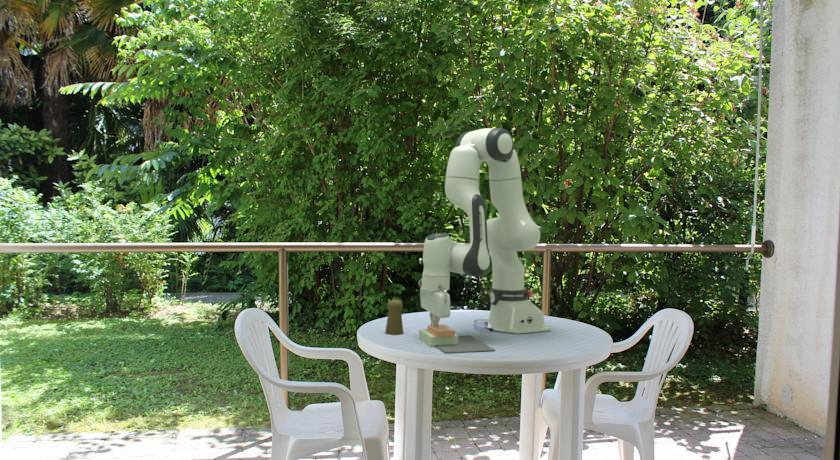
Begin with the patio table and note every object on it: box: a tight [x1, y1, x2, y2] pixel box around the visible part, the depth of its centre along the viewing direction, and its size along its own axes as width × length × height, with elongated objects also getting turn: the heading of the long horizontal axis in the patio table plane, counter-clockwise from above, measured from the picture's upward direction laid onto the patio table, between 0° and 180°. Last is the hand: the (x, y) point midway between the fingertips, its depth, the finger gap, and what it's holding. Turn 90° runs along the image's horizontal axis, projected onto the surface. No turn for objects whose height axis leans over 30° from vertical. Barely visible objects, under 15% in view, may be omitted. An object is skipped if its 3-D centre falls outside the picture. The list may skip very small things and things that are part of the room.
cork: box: [385, 299, 404, 336], centre depth 240 cm, size 6×6×11 cm
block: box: [427, 324, 456, 338], centre depth 225 cm, size 6×9×2 cm, turn 17°
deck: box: [418, 328, 459, 348], centre depth 228 cm, size 9×12×3 cm
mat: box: [435, 335, 496, 355], centre depth 225 cm, size 16×21×1 cm
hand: (434, 326), depth 231 cm, fingers closed
